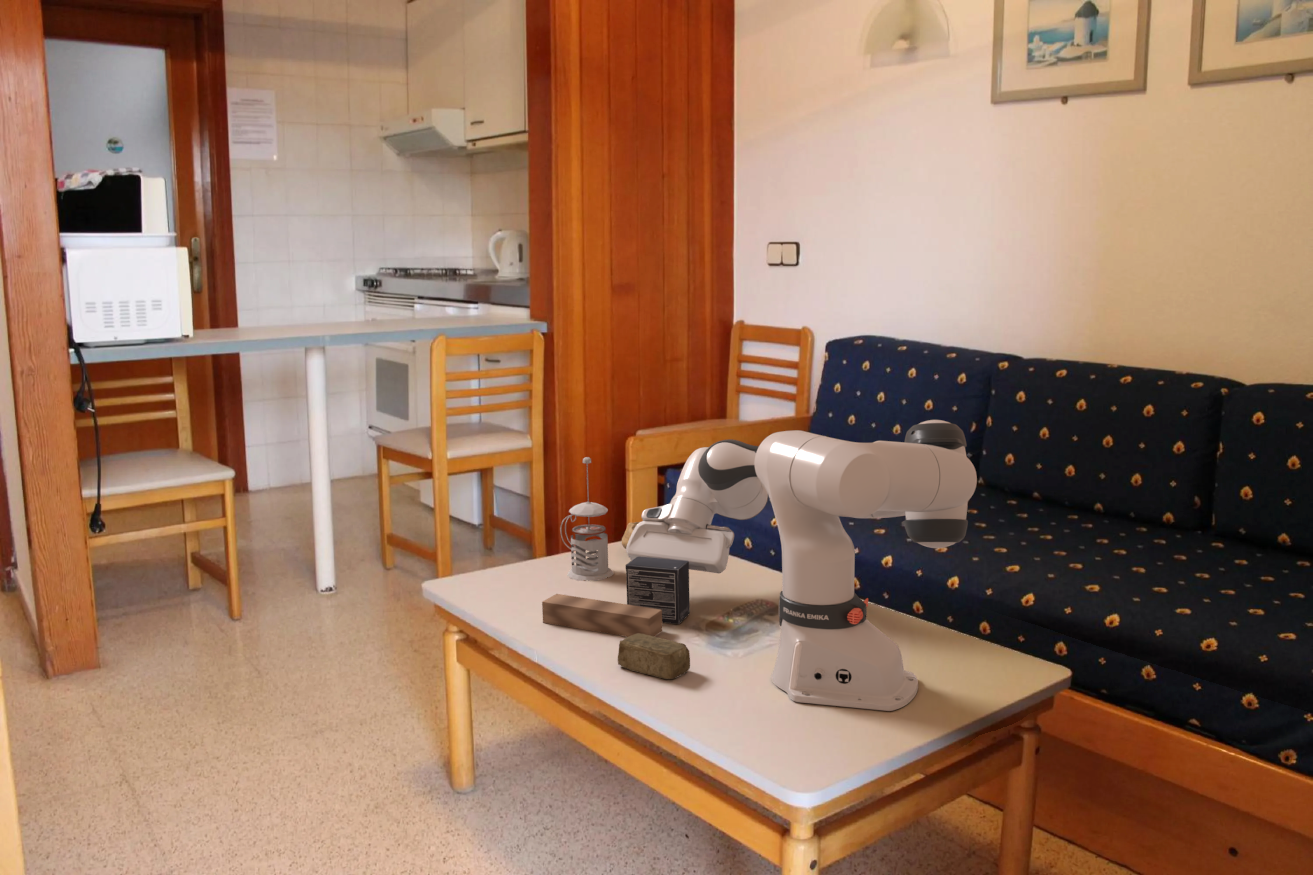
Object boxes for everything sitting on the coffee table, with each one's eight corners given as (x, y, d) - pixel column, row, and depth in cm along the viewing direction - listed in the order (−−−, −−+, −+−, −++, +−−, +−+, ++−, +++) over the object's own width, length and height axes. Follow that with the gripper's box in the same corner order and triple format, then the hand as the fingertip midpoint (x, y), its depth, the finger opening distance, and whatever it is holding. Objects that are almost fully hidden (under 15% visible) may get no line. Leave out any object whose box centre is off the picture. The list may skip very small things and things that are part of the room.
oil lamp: (645, 541, 250) (644, 508, 249) (682, 556, 238) (681, 521, 236) (604, 549, 244) (603, 515, 243) (640, 565, 232) (639, 529, 230)
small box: (691, 613, 201) (690, 559, 199) (679, 625, 195) (678, 569, 193) (639, 607, 205) (637, 554, 203) (625, 619, 199) (624, 564, 197)
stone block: (672, 683, 170) (672, 653, 169) (614, 669, 176) (613, 640, 175) (692, 671, 174) (692, 642, 173) (635, 657, 181) (634, 629, 180)
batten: (662, 631, 192) (661, 609, 191) (649, 640, 188) (649, 618, 187) (557, 614, 202) (556, 593, 201) (542, 622, 198) (542, 601, 197)
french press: (597, 583, 220) (593, 463, 215) (550, 575, 226) (546, 458, 221) (622, 570, 228) (619, 454, 224) (576, 563, 234) (573, 450, 230)
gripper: (741, 536, 207) (721, 600, 200) (646, 525, 216) (624, 586, 209) (732, 519, 202) (711, 584, 195) (635, 509, 211) (613, 571, 204)
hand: (665, 585), depth 202 cm, fingers closed
